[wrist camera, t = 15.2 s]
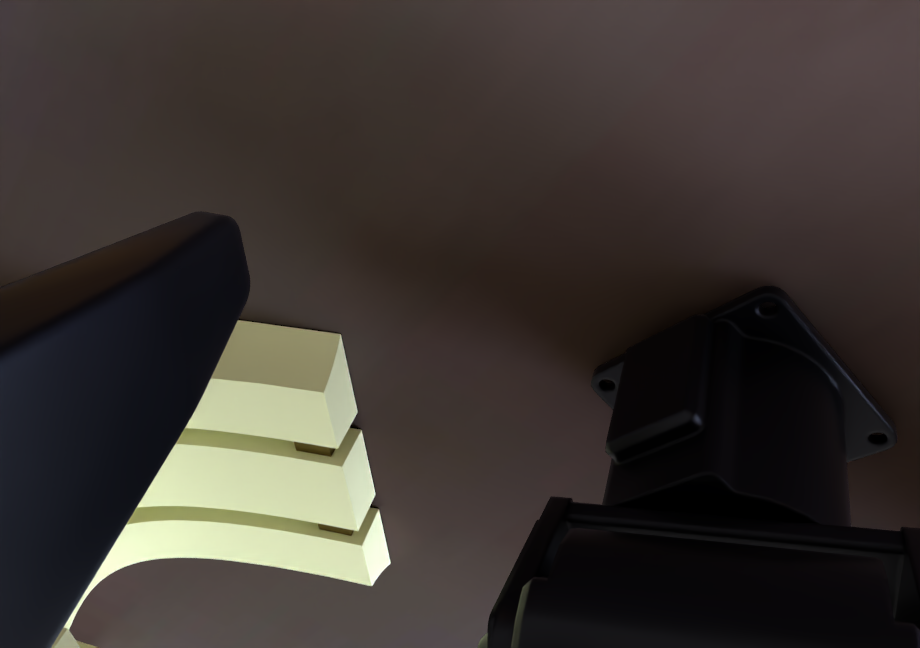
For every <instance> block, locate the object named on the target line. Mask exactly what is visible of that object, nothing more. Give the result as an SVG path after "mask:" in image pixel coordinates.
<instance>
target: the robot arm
mask: <svg viewBox="0 0 920 648" xmlns="http://www.w3.org/2000/svg"><path fill="white" fill-rule="evenodd" d="M249 291H250V275H249V271H248V266H247V261H246V256H245V252H244V247H243V242H242V238H241V233H240V229H239V226H238V224H237V223H236V221H235V220H234V219H233V218H231V217H230V216H226V215H220V214H214V213H208V212H194V213H191V214H188V215H186V216H183V217H181V218H178V219H175V220H173V221H170V222H168V223H165V224H163V225H160V226H157V227H155V228H152V229H150V230H147V231H145V232H142V233H139V234H137V235H134V236H132V237H129V238H127V239H124V240H121V241H119V242H116V243H114V244H111V245H109V246H106V247H103V248H101V249H98V250H96V251H93V252H91V253H88V254H85V255H83V256H80V257H78V258H75V259H73V260H70V261H68V262H65V263H62V264H60V265H57V266H55V267H52V268H50V269H47V270H44V271H42V272H39V273H37V274H34V275H32V276H29V277H26V278H24V279H21V280H19V281H16V282H14V283H11V284H8V285H6V286H3V287H1V288H0V648H51V647H52V645H53V644H54V642H55V640H56V639H57V637H58V636H59V634H60V632H61V631H62V629H63V627H64V626H65V624H66V622H67V621H68V619H69V618H70V616H71V614H72V613H73V611H74V609H75V608H76V606H77V604H78V603H79V601H80V600H81V598H82V596H83V595H84V593H85V591H86V590H87V588H88V586H89V585H90V583H91V581H92V580H93V578H94V577H95V575H96V573H97V572H98V570H99V568H100V567H101V565H102V563H103V562H104V560H105V559H106V557H107V555H108V554H109V552H110V550H111V549H112V547H113V545H114V544H115V542H116V541H117V539H118V537H119V536H120V534H121V532H122V531H123V529H124V527H125V526H126V524H127V522H128V521H129V519H130V518H131V516H132V514H133V513H134V511H135V509H136V508H137V506H138V504H139V503H140V501H141V500H142V498H143V496H144V495H145V493H146V491H147V490H148V488H149V486H150V485H151V483H152V482H153V480H154V478H155V477H156V475H157V473H158V472H159V470H160V468H161V467H162V465H163V463H164V462H165V460H166V459H167V457H168V455H169V454H170V452H171V450H172V449H173V447H174V445H175V444H176V442H177V441H178V439H179V437H180V436H181V434H182V432H183V431H184V429H185V427H186V426H187V424H188V422H189V420H190V419H191V417H192V415H193V413H194V412H195V410H196V408H197V406H198V404H199V402H200V400H201V398H202V396H203V394H204V392H205V390H206V388H207V386H208V383H209V381H210V379H211V377H212V375H213V373H214V371H215V368H216V366H217V364H218V362H219V360H220V358H221V355H222V353H223V351H224V349H225V347H226V345H227V343H228V340H229V338H230V336H231V334H232V332H233V330H234V328H235V325H236V323H237V321H238V319H239V317H240V315H241V312H242V310H243V308H244V306H245V304H246V301H247V299H248V295H249ZM765 302H772V303H774V304H776V306H775V307H772V308H765V307H762V306H761V304H762V303H765ZM604 379H608V380H611V381H613V383H608V382H605V381H604ZM591 385H592V388H593V390H594V391H595V392H596V393H597V394H598V395H599V396H600V397H601V398H602V399H603V400H604V401H605V402H606V403H607V404H608V405H609V406H610V407H611V408H612V409H613V414H612V418H611V423H610V427H609V432H608V436H607V441H606V447H605V450H606V453H607V454H608V455H609V456H610V457H611V458H612V460H611V465H610V470H609V475H608V479H607V484H606V489H605V494H604V499H603V503H602V505H600V504H589V503H578V502H573V500H572V498H563V497H552V496H551V497H550V499H549V501H548V503H547V505H546V507H545V509H544V511H543V513H542V515H541V517H540V519H539V520H537V521H536V523H535V525H534V527H533V529H532V531H531V533H530V535H529V537H528V539H527V541H526V543H525V545H524V547H523V549H522V551H521V553H520V555H519V557H518V559H517V561H516V563H515V565H514V567H513V569H512V571H511V573H510V575H509V577H508V579H507V581H506V583H505V585H504V587H503V589H502V591H501V593H500V595H499V597H498V599H497V601H496V603H495V605H494V607H493V609H492V611H491V614H490V616H489V621H488V632H487V633H486V634H485V635H484V637H483V638H482V639H481V640H480V642H479V645H478V648H920V529H919V528H908V527H901V530H900V531H893V530H882V529H871V528H859V527H851V515H850V501H849V487H848V473H847V462H851V461H854V460H857V459H860V458H863V457H866V456H869V455H872V454H875V453H878V452H881V451H884V450H887V449H889V448H891V447H893V446H894V445H895V444H896V443H897V431H896V426H895V424H894V423H893V421H892V420H891V419H890V418H889V416H888V415H887V414H886V413H885V412H884V410H883V409H882V408H881V407H880V406H879V404H878V403H877V402H876V401H875V400H874V398H873V397H872V396H871V395H870V394H869V392H868V391H867V390H866V389H865V388H864V386H863V385H862V384H861V383H860V382H859V380H858V379H857V378H856V377H855V376H854V374H853V373H852V372H851V371H850V370H849V368H848V367H847V366H846V365H845V364H844V362H843V361H842V360H841V359H840V358H839V356H838V355H837V354H836V353H835V352H834V350H833V349H832V348H831V347H830V346H829V344H828V343H827V342H826V341H825V340H824V338H823V337H822V336H821V335H820V334H819V332H818V331H817V330H816V329H815V328H814V326H813V325H812V324H811V323H810V322H809V320H808V319H807V318H806V317H805V316H804V314H803V313H802V312H801V311H800V310H799V308H798V307H797V306H796V305H795V304H794V302H793V301H792V300H791V299H790V298H789V296H788V295H787V294H786V293H785V292H784V291H783V290H781V289H780V288H778V287H775V286H763V287H759V288H757V289H755V290H753V291H751V292H749V293H747V294H745V295H743V296H741V297H738V298H736V299H734V300H732V301H730V302H728V303H726V304H724V305H722V306H720V307H718V308H716V309H714V310H712V311H710V312H708V313H706V314H704V315H694V316H692V317H690V318H688V319H686V320H684V321H682V322H680V323H678V324H676V325H674V326H672V327H670V328H668V329H666V330H664V331H662V332H660V333H658V334H656V335H653V336H651V337H649V338H647V339H645V340H643V341H641V342H639V343H637V344H635V345H633V346H631V347H629V348H628V349H627V350H626V353H625V354H623V355H621V356H619V357H617V358H615V359H613V360H611V361H609V362H607V363H605V364H603V365H600V366H599V367H597V368H596V369H595V371H594V373H593V377H592V380H591ZM877 432H879V433H883V434H881V435H873V434H872V433H877Z"/></svg>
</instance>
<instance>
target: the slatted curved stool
mask: <svg viewBox="0 0 920 648" xmlns="http://www.w3.org/2000/svg"><path fill="white" fill-rule="evenodd" d="M357 413H358V411H357V406H356V402H355V397H354V392H353V388H352V383H351V379H350V374H349V370H348V365H347V360H346V356H345V351H344V347H343V342H342V337H341V334H336V333H329V332H321V331H314V330H307V329H299V328H292V327H285V326H278V325H270V324H263V323H256V322H248V321H241V320H238V321H237V323H236V325H235V328H234V330H233V332H232V334H231V336H230V338H229V340H228V343H227V345H226V347H225V349H224V351H223V353H222V355H221V358H220V360H219V362H218V364H217V366H216V368H215V371H214V373H213V375H212V377H211V379H210V381H209V383H208V386H207V388H206V390H205V392H204V394H203V396H202V398H201V400H200V402H199V404H198V406H197V408H196V410H195V412H194V413H193V415H192V417H191V419H190V420H189V422H188V424H187V426H186V427H185V429H184V431H183V432H182V434H181V436H180V437H179V439H178V441H177V442H176V444H175V445H174V447H173V449H172V450H171V452H170V454H169V455H168V457H167V459H166V460H165V462H164V463H163V465H162V467H161V468H160V470H159V472H158V473H157V475H156V477H155V478H154V480H153V482H152V483H151V485H150V486H149V488H148V490H147V491H146V493H145V495H144V496H143V498H142V500H141V501H140V503H139V504H138V506H137V508H136V509H135V511H134V513H133V514H132V516H131V518H130V519H129V521H128V522H127V524H126V526H125V527H124V529H123V531H122V532H121V534H120V536H119V537H118V539H117V541H116V542H115V544H114V545H113V547H112V549H111V550H110V552H109V554H108V555H107V557H106V559H105V560H104V562H103V563H102V565H101V567H100V568H99V570H98V572H97V573H96V575H95V577H94V578H93V580H92V581H91V583H90V585H89V586H88V588H87V590H86V591H85V593H84V595H83V596H82V598H81V600H80V601H79V603H78V604H77V606H76V608H75V609H74V611H73V613H72V614H71V616H70V618H69V619H68V621H67V622H66V624H65V626H64V627H63V629H62V631H61V632H60V634H59V636H58V637H57V639H56V640H55V642H54V644H53V645H52V647H51V648H99V647H96V646H92V645H89V644H86V643H82V642H79V641H76V640H75V639H74V637H73V636H72V634H71V633H70V631H69V628H70V626H71V624H72V622H73V619H74V617H75V615H76V613H77V611H78V609H79V608H80V606H81V604H82V602H83V601H84V599H85V598H86V597H87V595H88V594H89V593H90V591H91V590H92V589H93V588H94V587H95V586H96V585H97V584H98V583H99V582H100V581H101V580H103V579H104V578H105V577H107V576H108V575H110V574H111V573H113V572H115V571H116V570H119V569H121V568H123V567H125V566H128V565H131V564H134V563H138V562H142V561H147V560H153V559H162V558H208V559H220V560H230V561H237V562H244V563H252V564H259V565H266V566H273V567H279V568H285V569H290V570H295V571H301V572H306V573H311V574H317V575H322V576H327V577H332V578H336V579H341V580H346V581H350V582H355V583H360V584H364V585H369V586H372V585H373V584H374V582H375V581H376V579H377V578H378V576H379V575H380V574H381V573H382V571H383V570H384V569H385V568H386V567H387V566H388V565H389V564H391V562H390V558H389V553H388V549H387V544H386V539H385V535H384V530H383V526H382V521H381V516H380V512H379V509H376V508H371V507H370V505H371V503H372V501H373V499H374V497H375V495H376V494H375V489H374V484H373V480H372V475H371V471H370V466H369V461H368V457H367V452H366V448H365V443H364V438H363V434H362V430H360V429H354V428H349V427H350V425H351V424H352V422H353V420H354V418H355V416H356V414H357Z"/></svg>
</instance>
